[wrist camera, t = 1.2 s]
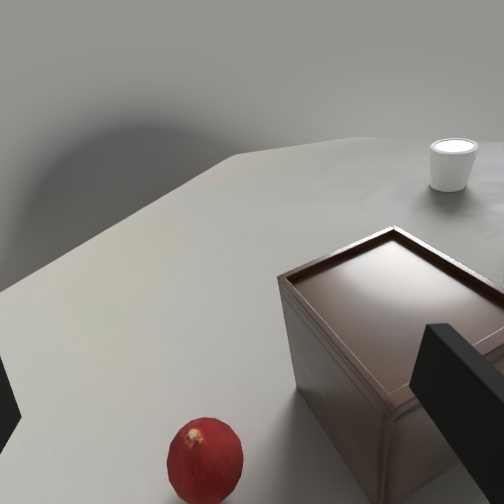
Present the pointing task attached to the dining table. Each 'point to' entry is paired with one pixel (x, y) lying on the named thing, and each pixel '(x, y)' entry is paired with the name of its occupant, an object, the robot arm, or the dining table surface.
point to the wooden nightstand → (383, 351)
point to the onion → (205, 461)
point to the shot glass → (451, 163)
